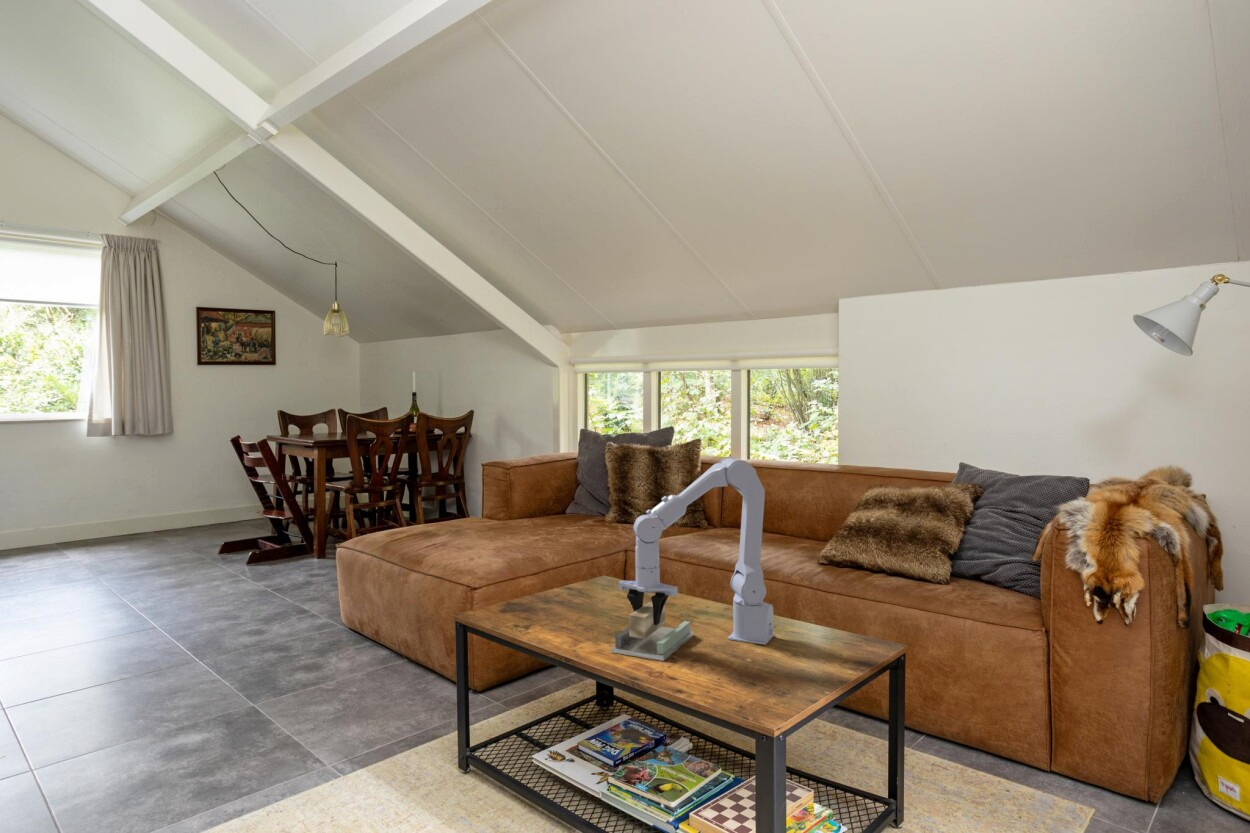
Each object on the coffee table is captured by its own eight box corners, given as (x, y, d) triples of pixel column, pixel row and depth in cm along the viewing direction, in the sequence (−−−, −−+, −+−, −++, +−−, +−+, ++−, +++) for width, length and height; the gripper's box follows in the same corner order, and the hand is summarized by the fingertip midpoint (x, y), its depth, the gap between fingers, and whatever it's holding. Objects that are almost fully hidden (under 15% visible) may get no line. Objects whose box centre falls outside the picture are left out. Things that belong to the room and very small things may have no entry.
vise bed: (693, 635, 184) (693, 620, 184) (663, 661, 167) (663, 645, 167) (645, 628, 190) (645, 614, 189) (611, 652, 173) (611, 637, 172)
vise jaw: (690, 631, 183) (690, 621, 183) (663, 654, 168) (663, 643, 168) (684, 630, 184) (684, 620, 184) (656, 653, 169) (656, 642, 168)
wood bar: (665, 623, 183) (664, 603, 183) (644, 638, 172) (644, 617, 172) (650, 621, 185) (650, 601, 185) (629, 636, 174) (629, 615, 174)
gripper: (612, 566, 178) (613, 623, 178) (669, 573, 171) (669, 631, 172) (625, 560, 184) (626, 615, 185) (680, 566, 178) (681, 622, 178)
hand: (648, 622), depth 179 cm, fingers closed on wood bar, 4 cm apart
